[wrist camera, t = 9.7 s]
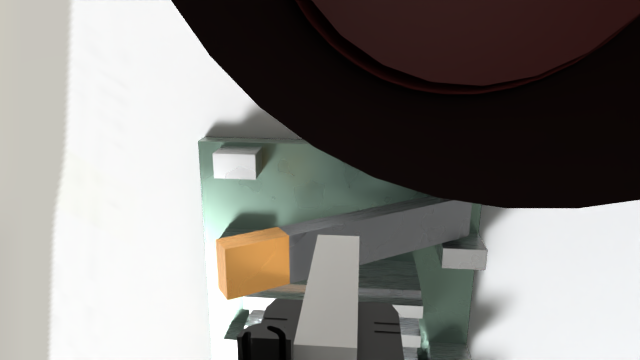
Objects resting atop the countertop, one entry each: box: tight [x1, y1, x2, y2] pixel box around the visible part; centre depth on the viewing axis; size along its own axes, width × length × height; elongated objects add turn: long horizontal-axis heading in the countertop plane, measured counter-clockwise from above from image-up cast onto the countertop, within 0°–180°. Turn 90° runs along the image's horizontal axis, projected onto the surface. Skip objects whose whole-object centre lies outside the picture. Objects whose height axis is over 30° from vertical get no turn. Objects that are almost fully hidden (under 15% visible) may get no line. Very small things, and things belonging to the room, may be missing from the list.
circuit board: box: [198, 137, 488, 360], centre depth 25 cm, size 14×16×5 cm
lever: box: [215, 196, 472, 300], centre depth 21 cm, size 12×2×1 cm
